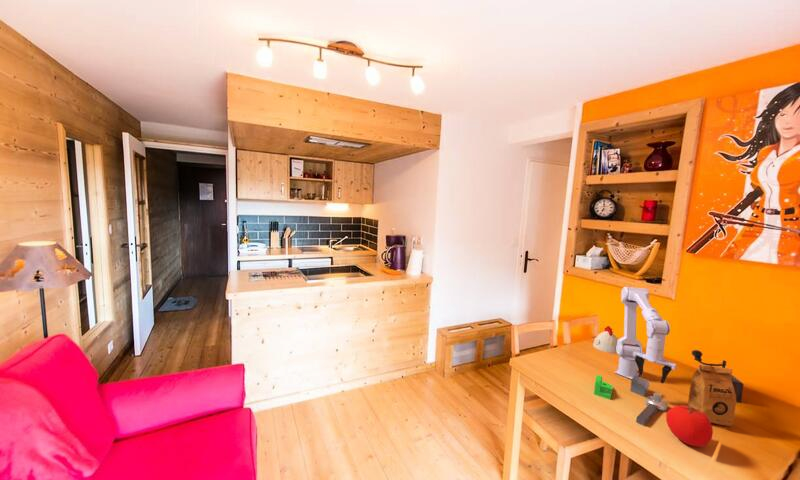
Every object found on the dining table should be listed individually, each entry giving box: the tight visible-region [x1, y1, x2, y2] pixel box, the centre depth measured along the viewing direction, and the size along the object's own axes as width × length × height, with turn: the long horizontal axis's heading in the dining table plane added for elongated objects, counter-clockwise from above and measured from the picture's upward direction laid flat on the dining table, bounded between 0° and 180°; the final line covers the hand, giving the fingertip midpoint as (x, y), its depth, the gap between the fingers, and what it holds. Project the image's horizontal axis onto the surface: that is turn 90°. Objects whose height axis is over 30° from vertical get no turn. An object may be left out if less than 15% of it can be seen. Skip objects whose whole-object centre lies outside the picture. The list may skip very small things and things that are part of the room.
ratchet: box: [635, 392, 668, 426], centre depth 130 cm, size 24×7×5 cm, turn 128°
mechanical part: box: [593, 374, 614, 400], centre depth 145 cm, size 12×6×8 cm, turn 142°
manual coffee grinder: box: [691, 349, 744, 404], centre depth 147 cm, size 16×11×18 cm
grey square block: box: [629, 375, 650, 398], centre depth 146 cm, size 5×5×6 cm
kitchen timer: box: [592, 325, 619, 355], centre depth 190 cm, size 14×14×15 cm
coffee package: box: [687, 364, 737, 427], centre depth 127 cm, size 10×12×22 cm
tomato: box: [665, 404, 714, 448], centre depth 114 cm, size 12×12×13 cm
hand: (651, 378), depth 138 cm, fingers open, 7 cm apart
